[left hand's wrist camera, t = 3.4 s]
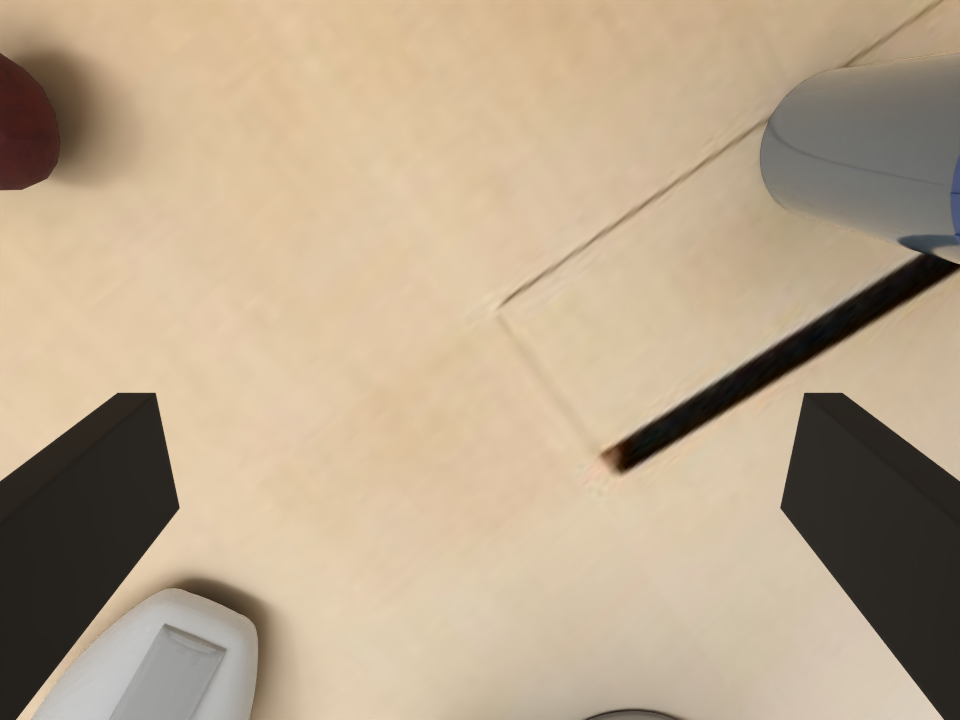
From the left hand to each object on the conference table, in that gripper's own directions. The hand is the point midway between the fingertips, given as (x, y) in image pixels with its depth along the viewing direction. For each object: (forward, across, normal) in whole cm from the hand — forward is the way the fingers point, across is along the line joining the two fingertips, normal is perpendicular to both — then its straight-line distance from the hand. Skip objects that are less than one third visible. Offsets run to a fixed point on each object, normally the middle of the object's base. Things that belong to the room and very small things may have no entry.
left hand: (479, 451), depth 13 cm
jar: (+28, -21, -5) cm, 35 cm away
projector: (+28, +27, +38) cm, 54 cm away
